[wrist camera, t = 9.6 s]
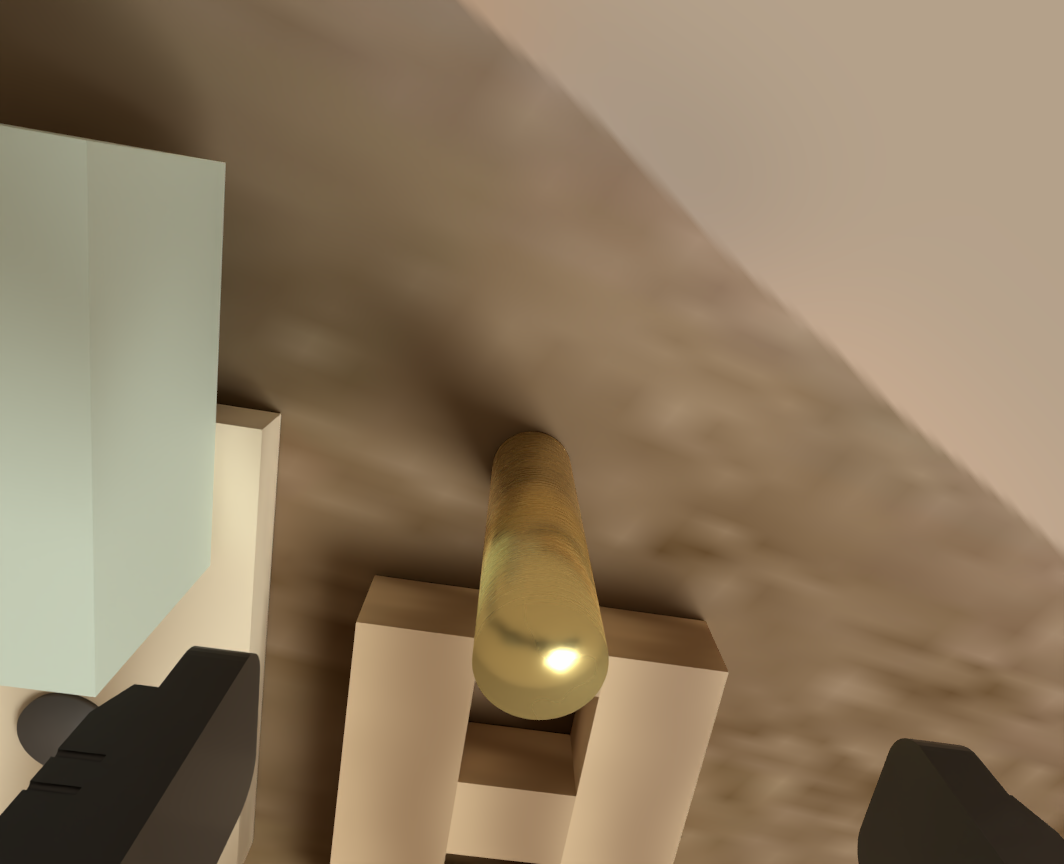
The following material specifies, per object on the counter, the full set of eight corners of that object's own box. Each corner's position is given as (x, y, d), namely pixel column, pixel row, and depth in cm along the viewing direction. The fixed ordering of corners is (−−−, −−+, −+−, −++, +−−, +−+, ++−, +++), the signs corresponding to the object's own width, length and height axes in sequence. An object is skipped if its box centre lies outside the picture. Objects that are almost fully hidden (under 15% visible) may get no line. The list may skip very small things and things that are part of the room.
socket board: (339, 884, 24) (319, 958, 22) (374, 575, 21) (356, 621, 19) (625, 916, 25) (636, 991, 23) (705, 621, 22) (728, 672, 19)
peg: (486, 499, 20) (463, 710, 12) (498, 425, 20) (482, 593, 11) (563, 510, 20) (594, 727, 12) (577, 437, 20) (621, 612, 11)
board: (-59, 805, 23) (-174, 923, 19) (-102, 354, 19) (-261, 392, 15) (252, 841, 24) (201, 961, 20) (281, 413, 19) (223, 463, 16)
